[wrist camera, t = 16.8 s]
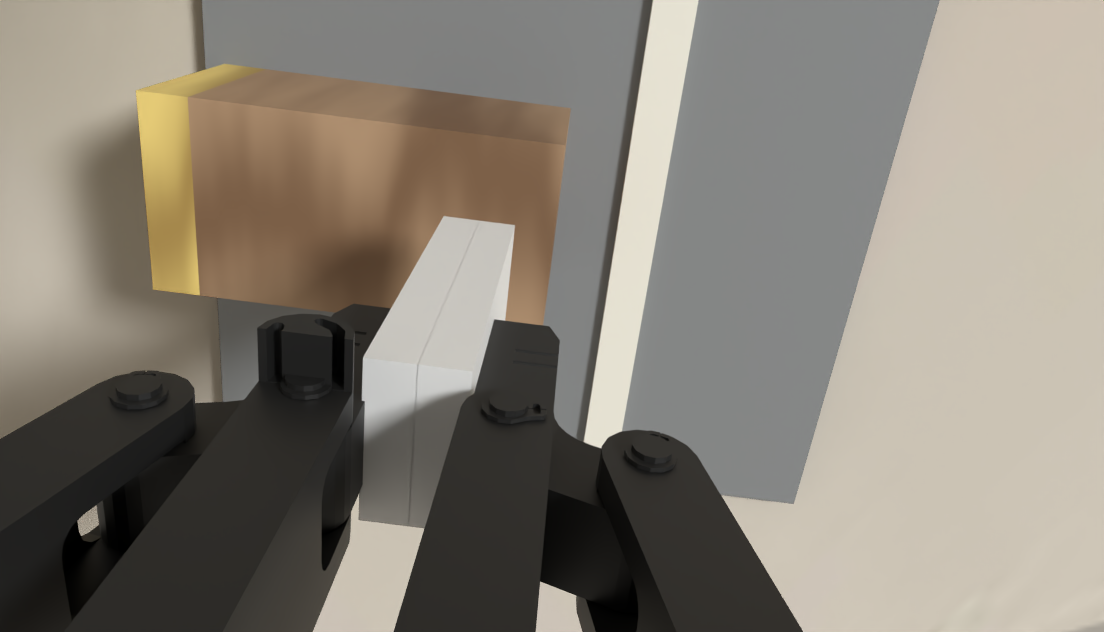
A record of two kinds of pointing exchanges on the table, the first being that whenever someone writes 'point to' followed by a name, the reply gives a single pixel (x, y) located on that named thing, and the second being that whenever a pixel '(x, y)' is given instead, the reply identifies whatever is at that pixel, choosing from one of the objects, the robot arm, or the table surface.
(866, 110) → the mat
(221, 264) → the block
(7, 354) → the table surface
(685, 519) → the robot arm
